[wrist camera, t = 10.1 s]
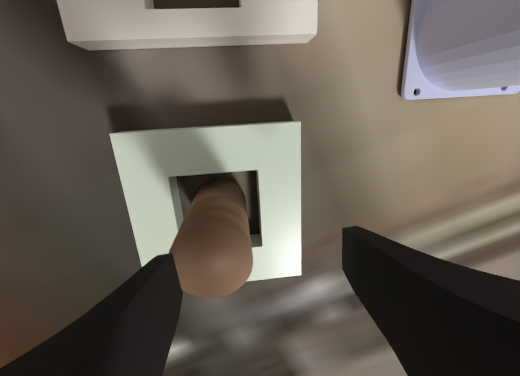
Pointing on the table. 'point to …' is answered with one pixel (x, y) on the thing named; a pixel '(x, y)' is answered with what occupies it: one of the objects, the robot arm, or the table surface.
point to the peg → (214, 241)
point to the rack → (215, 161)
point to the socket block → (186, 24)
